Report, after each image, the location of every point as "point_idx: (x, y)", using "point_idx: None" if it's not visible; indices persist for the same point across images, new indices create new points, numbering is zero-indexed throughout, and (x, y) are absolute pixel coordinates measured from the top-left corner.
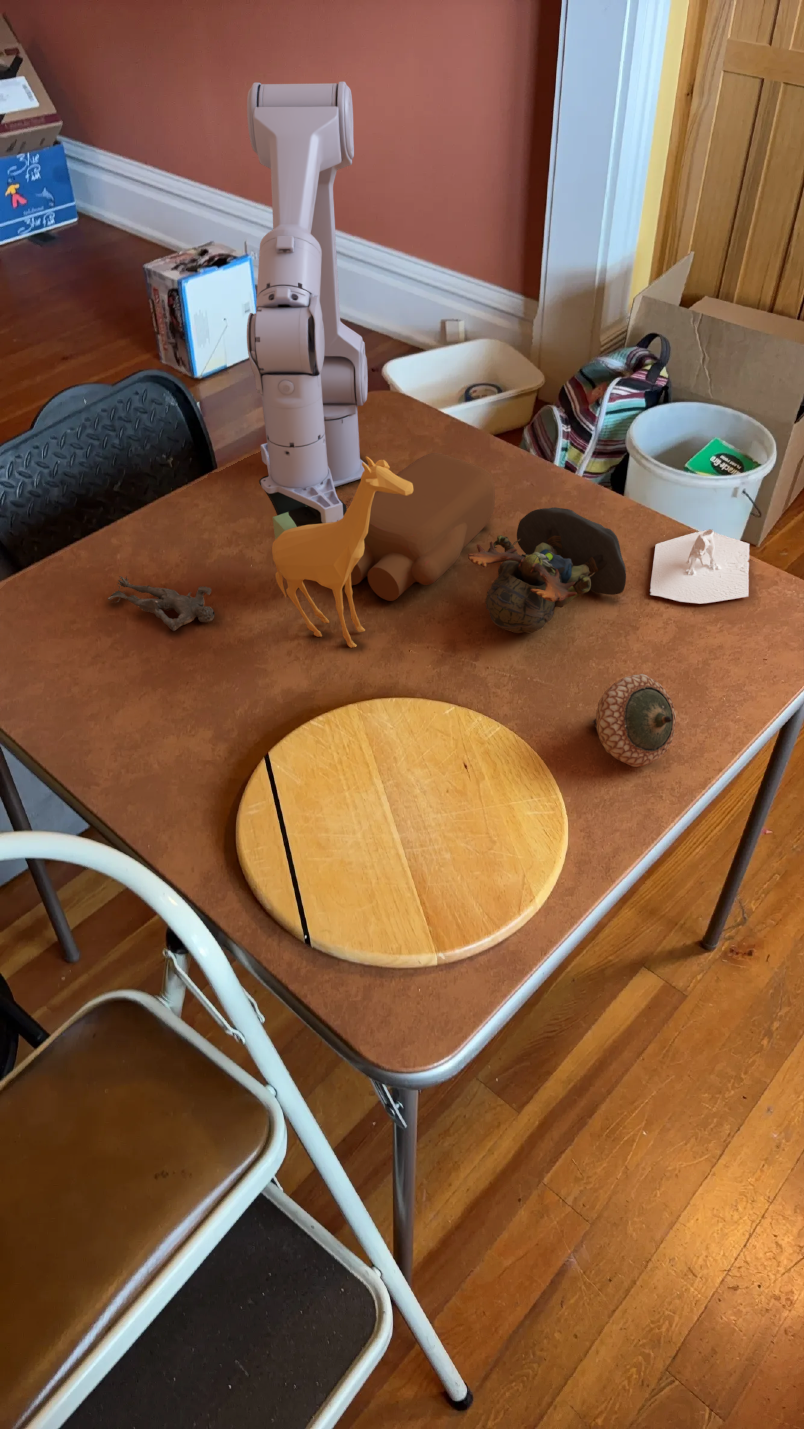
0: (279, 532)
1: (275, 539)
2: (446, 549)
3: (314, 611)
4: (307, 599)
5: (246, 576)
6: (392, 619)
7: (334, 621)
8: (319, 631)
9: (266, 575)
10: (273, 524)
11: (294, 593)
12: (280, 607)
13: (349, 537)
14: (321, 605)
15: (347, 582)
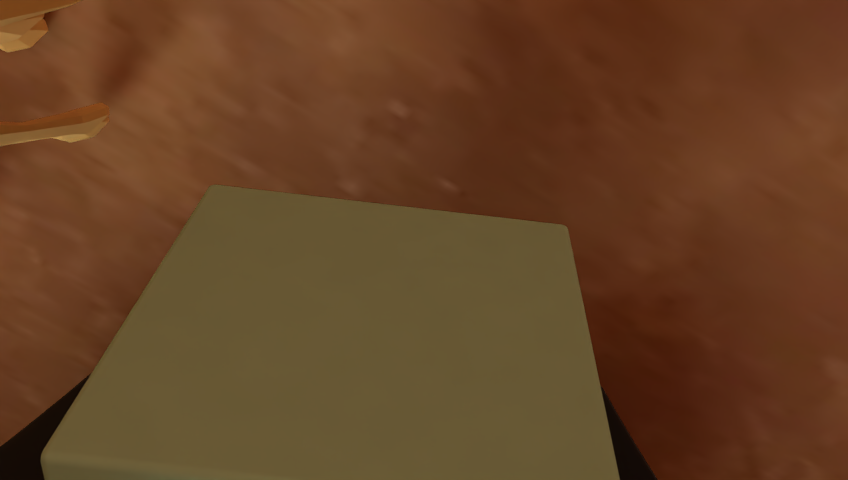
0: (455, 410)
1: (577, 320)
2: None
3: (76, 110)
4: (37, 119)
5: (809, 4)
6: (13, 356)
7: (114, 166)
8: (1, 48)
9: (714, 107)
10: (602, 442)
11: None
12: (389, 3)
13: None
14: (272, 188)
15: None
